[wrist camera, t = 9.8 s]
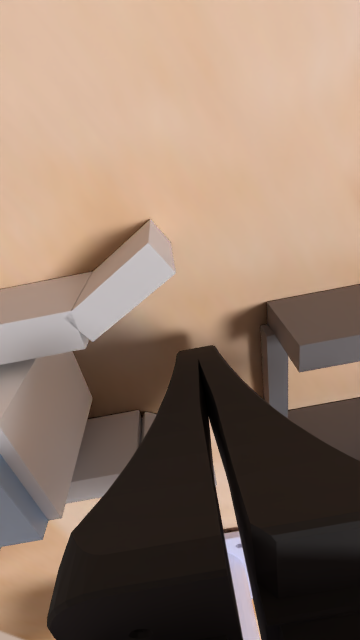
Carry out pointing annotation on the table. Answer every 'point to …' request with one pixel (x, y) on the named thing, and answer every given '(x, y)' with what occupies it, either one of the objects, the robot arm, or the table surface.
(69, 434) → the plug
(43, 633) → the table surface
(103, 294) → the grey forked block
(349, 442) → the gray vise
